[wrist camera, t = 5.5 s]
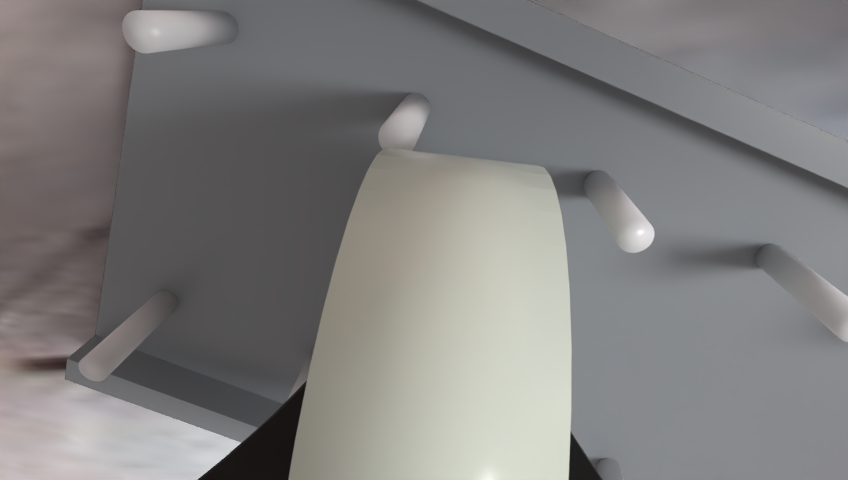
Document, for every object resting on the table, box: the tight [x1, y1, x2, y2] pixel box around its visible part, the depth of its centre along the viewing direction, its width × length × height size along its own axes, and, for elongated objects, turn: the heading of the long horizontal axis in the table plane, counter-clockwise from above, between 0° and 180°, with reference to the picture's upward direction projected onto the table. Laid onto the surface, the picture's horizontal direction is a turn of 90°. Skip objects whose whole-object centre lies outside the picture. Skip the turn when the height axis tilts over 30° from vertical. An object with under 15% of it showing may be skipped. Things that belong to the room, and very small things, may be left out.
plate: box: [288, 148, 572, 480], centre depth 9 cm, size 2×9×9 cm, turn 174°
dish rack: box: [65, 0, 848, 480], centre depth 13 cm, size 23×14×4 cm, turn 68°
